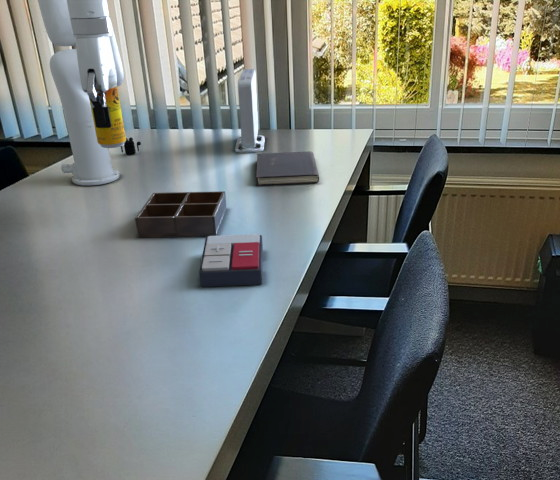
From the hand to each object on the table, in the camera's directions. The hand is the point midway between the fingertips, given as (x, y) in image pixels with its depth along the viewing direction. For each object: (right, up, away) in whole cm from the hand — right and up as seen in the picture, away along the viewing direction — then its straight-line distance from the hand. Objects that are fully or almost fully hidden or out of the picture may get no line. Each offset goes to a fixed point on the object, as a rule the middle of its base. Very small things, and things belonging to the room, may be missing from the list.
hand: (108, 122), depth 132 cm
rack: (+15, -20, +6) cm, 26 cm away
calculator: (+28, -34, -16) cm, 47 cm away
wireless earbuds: (-9, +13, +58) cm, 60 cm away
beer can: (0, -4, +3) cm, 5 cm away
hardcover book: (+38, +1, +36) cm, 53 cm away
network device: (+27, +18, +63) cm, 71 cm away
